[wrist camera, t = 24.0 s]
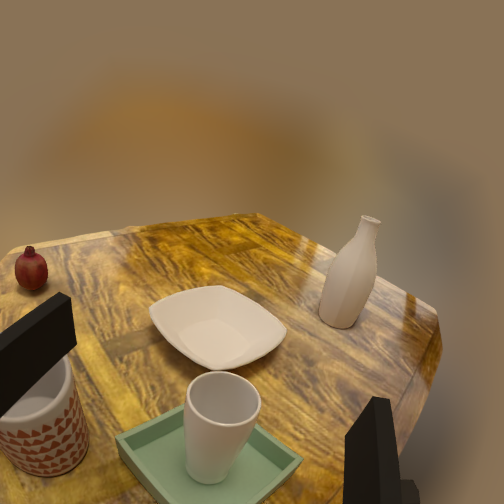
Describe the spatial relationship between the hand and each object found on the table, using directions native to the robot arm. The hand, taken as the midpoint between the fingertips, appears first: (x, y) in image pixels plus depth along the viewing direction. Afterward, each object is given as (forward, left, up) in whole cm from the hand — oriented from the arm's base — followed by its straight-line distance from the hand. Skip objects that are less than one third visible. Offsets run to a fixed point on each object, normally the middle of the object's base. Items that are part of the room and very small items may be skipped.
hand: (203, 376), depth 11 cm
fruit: (+56, -1, -28) cm, 63 cm away
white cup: (+5, -8, -27) cm, 29 cm away
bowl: (+24, -27, -28) cm, 46 cm away
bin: (+5, -8, -28) cm, 30 cm away
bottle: (+14, -57, -28) cm, 65 cm away
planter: (+20, +8, -28) cm, 35 cm away
